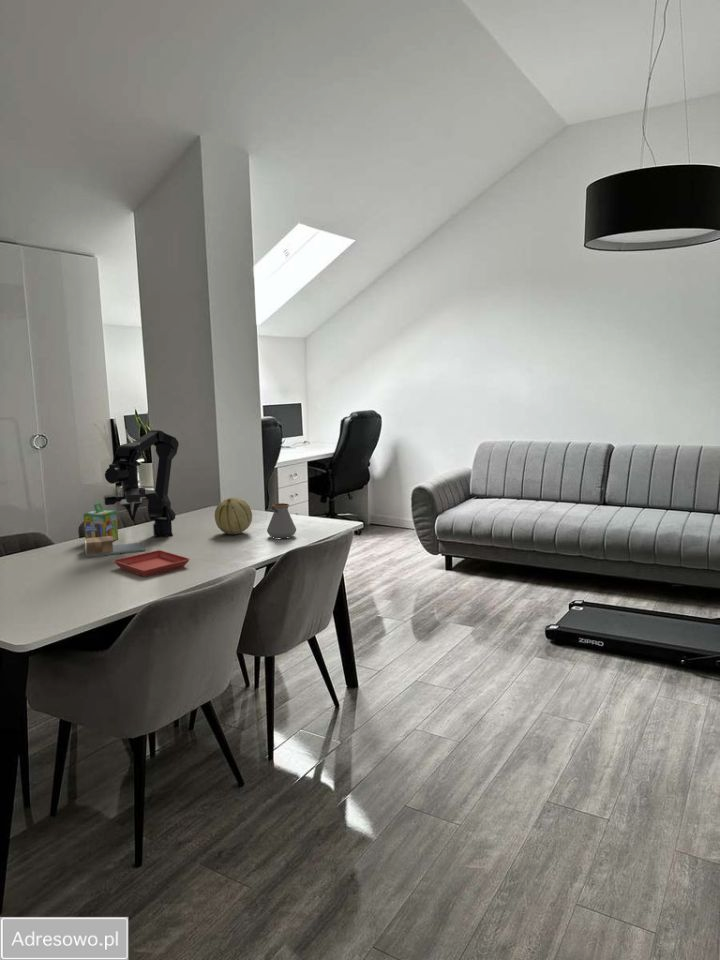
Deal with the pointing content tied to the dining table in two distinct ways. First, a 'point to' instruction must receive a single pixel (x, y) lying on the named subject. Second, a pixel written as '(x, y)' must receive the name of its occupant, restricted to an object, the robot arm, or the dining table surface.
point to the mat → (121, 549)
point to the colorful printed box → (101, 523)
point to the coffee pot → (281, 522)
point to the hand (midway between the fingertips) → (132, 520)
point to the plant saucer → (152, 563)
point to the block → (98, 545)
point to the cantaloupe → (233, 516)
